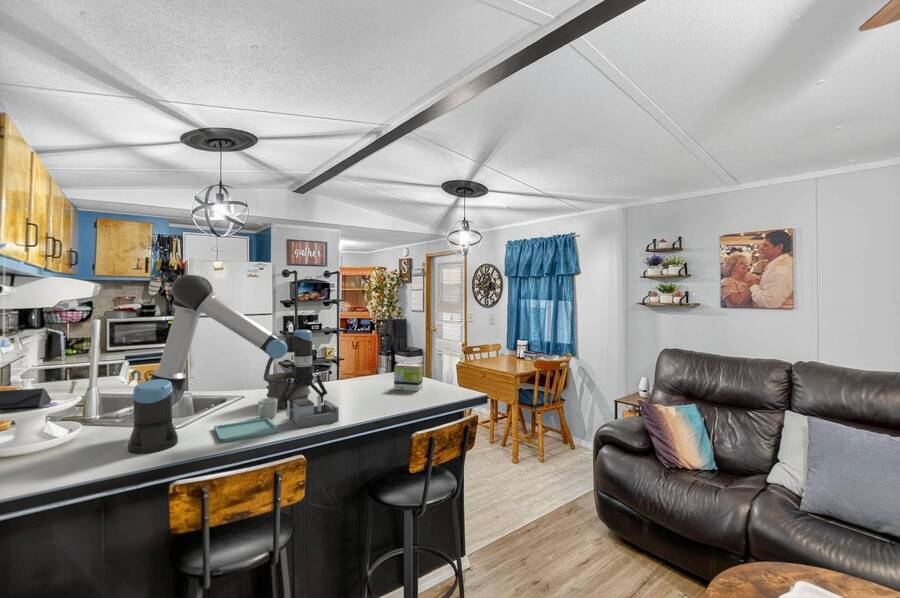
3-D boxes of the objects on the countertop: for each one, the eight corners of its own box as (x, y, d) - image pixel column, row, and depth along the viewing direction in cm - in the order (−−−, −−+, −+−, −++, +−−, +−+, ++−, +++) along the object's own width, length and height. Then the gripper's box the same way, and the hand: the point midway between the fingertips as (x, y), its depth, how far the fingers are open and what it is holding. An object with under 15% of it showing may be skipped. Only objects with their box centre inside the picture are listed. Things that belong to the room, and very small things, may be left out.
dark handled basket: (273, 398, 227) (273, 342, 227) (317, 398, 228) (317, 342, 228) (256, 409, 205) (256, 347, 205) (305, 409, 206) (305, 347, 205)
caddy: (299, 426, 181) (299, 405, 181) (293, 420, 189) (293, 400, 189) (313, 423, 184) (313, 403, 184) (306, 417, 193) (306, 398, 192)
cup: (266, 422, 185) (266, 404, 185) (250, 421, 187) (250, 403, 187) (281, 415, 196) (281, 398, 196) (265, 414, 197) (265, 397, 197)
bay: (299, 428, 178) (299, 413, 178) (289, 418, 191) (289, 405, 191) (338, 421, 188) (338, 407, 188) (326, 412, 201) (326, 400, 200)
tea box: (393, 390, 247) (393, 365, 246) (398, 386, 256) (398, 362, 256) (418, 391, 244) (419, 365, 244) (422, 387, 254) (423, 363, 254)
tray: (220, 443, 160) (220, 439, 160) (214, 429, 175) (214, 426, 175) (278, 432, 172) (278, 429, 172) (268, 421, 187) (268, 417, 187)
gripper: (275, 369, 176) (276, 420, 176) (334, 363, 190) (334, 410, 191) (271, 367, 182) (271, 416, 183) (328, 361, 196) (328, 406, 197)
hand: (304, 413), depth 187 cm, fingers open, 13 cm apart
